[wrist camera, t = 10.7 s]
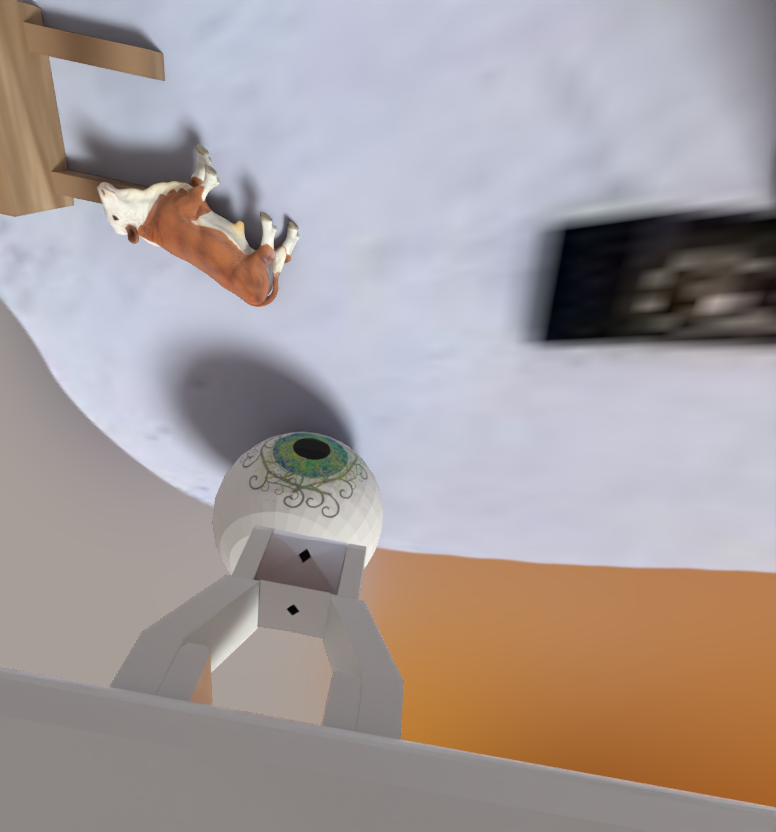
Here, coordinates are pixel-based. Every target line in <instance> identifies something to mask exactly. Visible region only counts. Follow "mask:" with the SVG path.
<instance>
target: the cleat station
mask: <svg viewBox="0 0 776 832" xmlns="http://www.w3.org/2000/svg"><path fill="white" fill-rule="evenodd" d="M49 56H51V57H56V58H60V59H65V60H70V61H74V62H79V63H83V64H88V65H92V66H97V67H102V68H106V69H111V70H115V71H120V72H125V73H129V74H134V75H138V76H143V77H148V78H152V79H158V80H163V81H165V76H164V61H163V53H159V52H156V51H152V50H149V49H144V48H140V47H135V46H131V45H126V44H122V43H117V42H112V41H108V40H103V39H99V38H94V37H90V36H85V35H81V34H76V33H71V32H67V31H62V30H58V29H53V28H49V27H44V26H43V21H42V15H41V9H40V8H39V7H36V6H33V5H30V4H26V3H23V2H20V1H17V0H0V214H5V215H9V216H14V217H16V216H21V215H26V214H31V213H36V212H41V211H46V210H51V209H57V208H62V207H67V206H72V205H74V203H73V198H77V199H82V200H87V201H92V202H97V203H101V204H102V201H101V198H100V195H99V193H98V190H97V187H98V186H99V185H100V183H102V182H107V183H109V184H111V185H112V186H113V187H115V188H116V189H120V190H121V189H128V188H134V189H138V190H145V189H147V188H149V187H146V186H142V185H137V184H132V183H128V182H123V181H118V180H113V179H109V178H104V177H99V176H94V175H90V174H85V173H80V172H76V171H71V170H68V167H67V162H66V156H65V150H64V144H63V138H62V132H61V126H60V120H59V115H58V109H57V103H56V97H55V91H54V85H53V79H52V73H51V68H50V62H49Z"/></svg>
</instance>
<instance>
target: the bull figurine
mask: <svg viewBox="0 0 776 832" xmlns="http://www.w3.org/2000/svg"><path fill="white" fill-rule="evenodd" d="M196 152H197V163H196V170H195V172H194V173H193V174H192V176H191V180H190V184H187V183H181V182H177V181H171V182H167V183H165V182H162V183H157V184H153V185H152V186H150V187H149V188H147V189H145V190H138V189H134V188H128V189H121V190H120V189H116V188H115V187H113V186H112V185H111V184H109V183H107V182H102V183H100V185H99V186H98V187H97V190H98V193H99V195H100V198H101V201H102V204H103V207H104V210H105V214H106V217H107V219H108V221H109V223H110V224H111V225H112V226H113V228H114V231H115V232H116V233H117V234H120V235H127V234H128V240H129V241H130V242H131V243H133V244H136V243H137V242H138V240H139V236H140V237H141V238H142V239H144V240H145V241H146V242H148V243H149V244H152V245H155V246H158V247H162V248H164V249H165V250H167V251H168V252H170V253H171V254H173V255H175V256H177V257H179V258H181V259H183V260H185V261H187V262H189V263H191V264H192V265H194V266H195V267H197V268H198V269H200V270H202V271H203V272H205V273H206V274H208V275H209V276H210V277H212V278H213V279H214V280H215V281H217V282H218V283H219V284H220V285H221V286H222V287H224V288H225V289H227V290H229V291H231V292H232V293H234V294H235V295H237V296H238V297H240V298H241V299H242V300H244V301H245V302H246V303H248V304H249V305H252V306H256V307H261V306H265V305H268V304H269V303H271V302H272V301H273V300H274V299H275V297H276V295H277V292H278V277H279V275H280V272H281V270H282V268H283V265H284V263H287V262H289V261H290V259H291V253H292V250H293V248H294V246H295V244H296V242H297V241H298V240H299V238H300V235H298V234H297V232H298V226H297V225H296V224H294V223H293V222H291V221H290V222H289V223H288V231H287V237H286V239H285V241H284V242H283V243H282V244H281V245H280V246H279V247H277V248H274V236H275V233H276V230H277V227H276V226H273V225H272V219H271V217H270V216H269V215H267V214H266V213H264V212H260V216H261V222H262V228H263V237H262V241H261V244H260V246H259V248H258V249H257V250H254V249H252V248H251V247H249V245H248V243H247V240H246V238H245V234H244V223H243V222H242V221H237V223H235V224H233V223H231V222H230V221H228V220H227V219H225V218H223V217H221V216H219V215H217V214H216V213H214V212H213V211H211V209H210V208H209V206H208V205H207V203H206V201H205V198H206V196H207V194H208V192H209V191H210V190H211V189H213V188H214V187H215V186H218V185H219V184H220V181H219V178H217V177H216V171H215V170H214V169H213V168H212V167H210V166H209V165H210V164H211V163H212V161H211V158H209V157H208V153H209V152H208V151H207V150H206V149H205V148H204V147H202V146H200V145H196ZM272 287H273V291H272V293H271V295H269V296H268V294H269V293H270V291H271V289H272ZM267 296H268V297H267Z"/></svg>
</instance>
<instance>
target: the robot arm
mask: <svg viewBox="0 0 776 832" xmlns="http://www.w3.org/2000/svg"><path fill="white" fill-rule="evenodd" d="M366 551H367V549H366V546H361V545H355V544H350V543H348V545H347V543H346V542H340V541H335V540H329V539H324V538H318V537H312V536H311V537H310V536H305V535H300V534H296V533H291V532H287V531H282V530H278V529H272V528H267V527H262V526H258V525H256V526H255V527H254V528H253V530H252V532H251V534H250V536H249V538H248V540H247V543H246V545H245V547H244V549H243V551H242V554H241V556H240V558H239V560H238V562H237V565H236V567H235V569H234V571H233V573H232V575H227V574H226V575H224V576H223V577H221V578H220V579H218V580H217V581H216V582H214V583H213V584H211V585H210V586H208V587H207V588H205V589H204V590H202V591H201V592H199V593H198V594H196V595H195V596H194V597H192V598H191V599H189V600H188V601H186V602H185V603H184V604H182V605H181V606H179V607H177V608H176V609H175V610H173V611H172V612H170V613H169V614H167V615H166V616H164V617H163V618H162V619H160V620H159V621H157V622H156V623H154V624H153V625H151V626H150V627H148V628H147V629H145V630H144V631H142V633H141V634H140V636H139V638H138V639H137V641H136V643H135V644H134V646H133V648H132V650H131V651H130V653H129V655H128V656H127V658H126V660H125V661H124V663H123V665H122V666H121V668H120V670H119V671H118V673H117V675H116V677H115V678H114V680H113V682H112V683H111V685H110V687H107V686H102V685H96V684H91V683H85V682H79V681H74V680H69V679H63V678H58V677H52V676H46V675H41V674H35V673H30V672H25V671H18V670H13V669H8V668H2V667H0V832H776V807H770V806H765V805H760V804H754V803H748V802H743V801H737V800H732V799H726V798H721V797H715V796H710V795H704V794H699V793H693V792H688V791H682V790H676V789H671V788H665V787H660V786H654V785H649V784H643V783H638V782H632V781H627V780H621V779H615V778H610V777H605V776H599V775H594V774H587V773H582V772H577V771H571V770H565V769H560V768H555V767H549V766H544V765H538V764H533V763H527V762H522V761H516V760H510V759H505V758H499V757H494V756H488V755H483V754H477V753H472V752H466V751H461V750H455V749H450V748H444V747H439V746H433V745H427V744H422V743H417V742H411V741H405V740H401V721H402V701H403V683H404V681H403V679H402V677H401V675H400V673H399V670H398V669H397V667H396V664H395V662H394V660H393V658H392V656H391V654H390V652H389V650H388V648H387V646H386V644H385V642H384V640H383V638H382V636H381V634H380V632H379V630H378V627H377V626H376V623H375V622H374V619H373V617H372V615H371V613H370V611H369V609H368V607H367V605H366V603H365V601H364V600H360V599H359V595H360V589H361V582H362V576H363V569H364V563H365V557H366ZM257 626H258V627H264V628H271V629H277V630H284V631H290V632H295V633H299V634H304V635H309V636H313V637H318V638H322V639H323V643H324V647H325V650H326V653H327V656H328V659H329V662H330V665H331V668H332V671H333V675H332V678H331V683H330V688H329V692H328V697H327V701H326V706H325V711H324V715H323V719H322V724H321V725H318V724H312V723H306V722H301V721H295V720H290V719H284V718H279V717H273V716H268V715H262V714H257V713H251V712H246V711H240V710H234V709H229V708H224V707H218V706H213V704H212V681H211V672H212V671H213V670H215V669H216V668H217V666H219V665H220V664H221V663H222V662H223V661H224V660H225V659H226V658H227V657H228V656H229V655H230V654H231V653H232V652H233V651H234V650H235V649H236V648H237V647H239V646H240V644H242V643H243V642H244V641H245V640H246V639H247V638H248V637H249V636H250V635H251V634H252V633H253V632H254V631H255V630H256V629H257Z"/></svg>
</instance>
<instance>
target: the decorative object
mask: <svg viewBox="0 0 776 832" xmlns="http://www.w3.org/2000/svg"><path fill="white" fill-rule="evenodd" d="M382 521H383V505H382V499H381V494H380V490H379V487H378V484H377V482H376V480H375V477H374V475H373V473H372V472H371V470H370V469H369V467H368V466H367V464H366V463H365V462H364V461H363V459H362V458H361V457H360V456H359V455H358V454H357V453H356V452H355V451H354V450H353V449H351V448H350V447H348V446H347V445H345V444H344V443H342V442H340V441H338V440H336V439H334V438H332V437H329V436H326V435H322V434H319V433H312V432H290V433H286V434H281V435H277V436H273V437H270V438H268V439H266V440H264V441H261V442H259V443H258V444H256V445H255V446H253V447H252V448H250V449H249V450H248V451H246V452H245V453H244V454H242V455H241V456H240V457H239V458H238V460H237V461H236V462H235V463H234V465H233V466H232V467H231V468H230V470H229V471H228V472H227V473H226V475H225V476H224V479H223V481H222V483H221V486H220V488H219V490H218V493H217V495H216V497H215V504H214V511H213V520H212V524H213V531H214V538H215V543H216V547H217V549H218V552H219V554H220V556H221V558H222V560H223V562H224V564H225V566H226V567H227V569H228V570H229V572H230V573H231V574H232V573H233V571H234V569H235V567H236V565H237V562H238V560H239V558H240V556H241V554H242V551H243V549H244V547H245V545H246V543H247V540H248V538H249V536H250V534H251V532H252V530H253V528H254V527H255V526H256V525H258V526H262V527H267V528H272V529H278V530H282V531H287V532H291V533H296V534H300V535H305V536H310V537H311V536H312V537H318V538H324V539H329V540H335V541H340V542H346V543H347V545H348V543H350V544H355V545H361V546H366V549H367V551H366V557H365V563H364V568H365V566H366V565H367V564H368V562H369V560H370V558H371V557H372V555H373V553H374V551H375V549H376V547H377V544H378V541H379V538H380V534H381V530H382Z"/></svg>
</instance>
